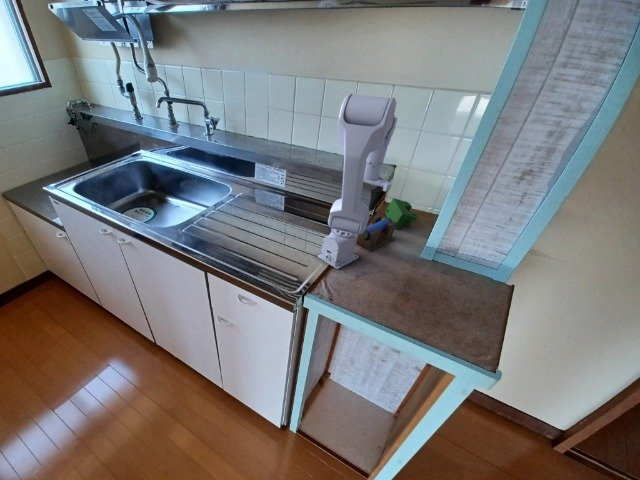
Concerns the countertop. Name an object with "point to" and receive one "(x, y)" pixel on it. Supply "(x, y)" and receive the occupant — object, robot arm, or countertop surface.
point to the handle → (376, 227)
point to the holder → (377, 235)
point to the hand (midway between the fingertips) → (361, 205)
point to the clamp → (400, 213)
